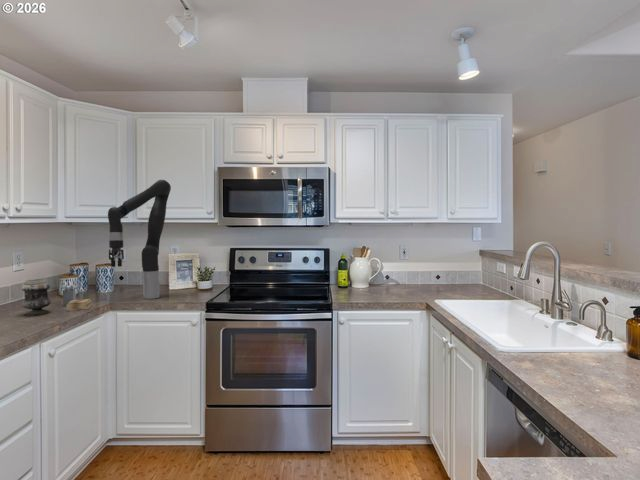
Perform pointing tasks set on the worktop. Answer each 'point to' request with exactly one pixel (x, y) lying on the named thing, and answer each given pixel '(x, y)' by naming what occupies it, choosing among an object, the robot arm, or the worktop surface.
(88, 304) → the tan flat rounded piece
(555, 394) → the worktop surface
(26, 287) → the apothecary jar
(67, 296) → the housing
